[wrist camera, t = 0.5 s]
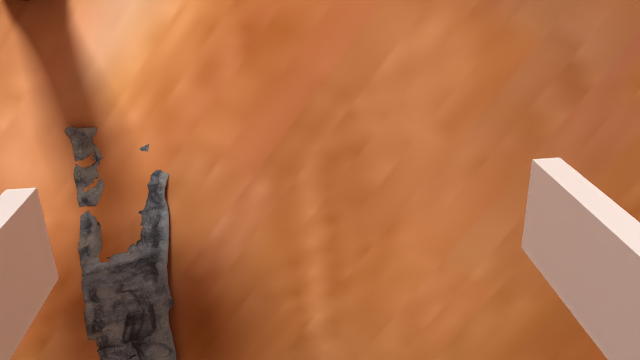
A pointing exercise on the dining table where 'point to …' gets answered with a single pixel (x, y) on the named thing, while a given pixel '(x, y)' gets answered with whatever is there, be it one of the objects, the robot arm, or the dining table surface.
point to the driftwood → (124, 270)
